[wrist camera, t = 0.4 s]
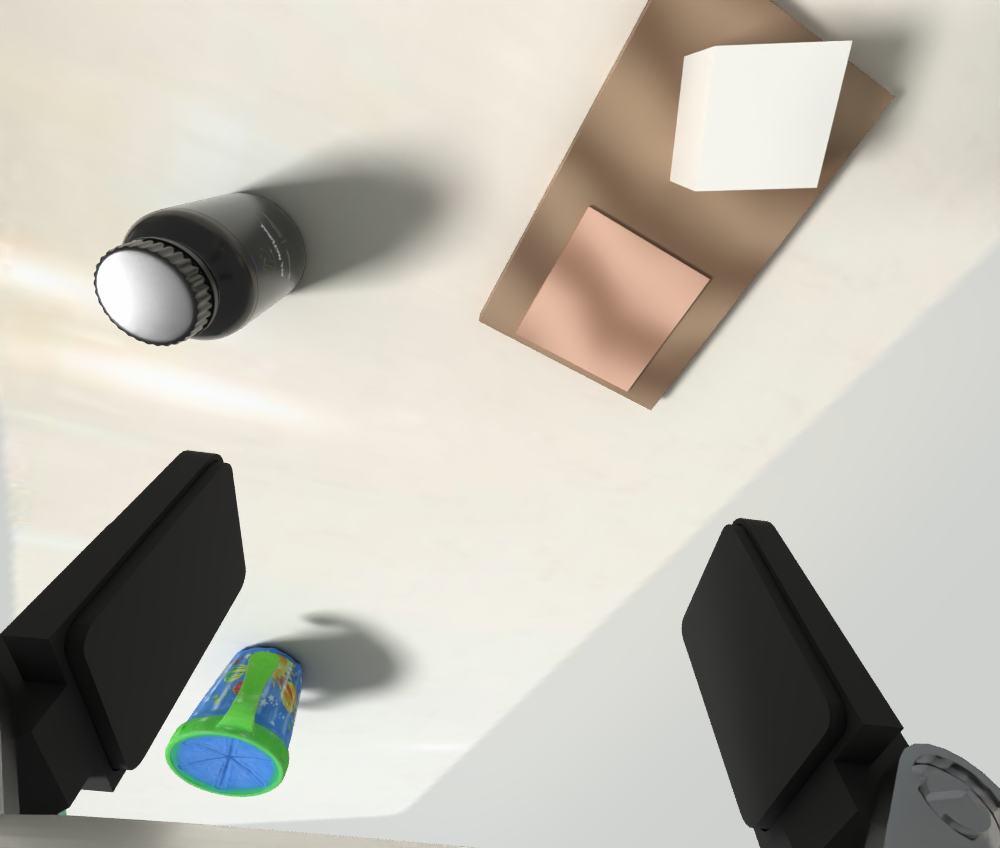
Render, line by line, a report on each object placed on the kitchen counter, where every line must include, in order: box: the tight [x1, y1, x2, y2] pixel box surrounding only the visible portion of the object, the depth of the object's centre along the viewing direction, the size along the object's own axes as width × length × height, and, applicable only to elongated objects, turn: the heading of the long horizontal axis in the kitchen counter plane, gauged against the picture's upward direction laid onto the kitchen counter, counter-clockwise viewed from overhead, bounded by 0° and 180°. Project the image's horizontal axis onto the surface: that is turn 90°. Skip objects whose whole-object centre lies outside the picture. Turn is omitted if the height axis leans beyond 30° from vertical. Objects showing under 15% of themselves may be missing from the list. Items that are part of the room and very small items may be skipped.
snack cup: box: [165, 647, 303, 797], centre depth 52 cm, size 16×10×10 cm
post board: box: [479, 0, 895, 410], centre depth 31 cm, size 22×14×5 cm, turn 152°
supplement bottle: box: [94, 193, 305, 346], centre depth 30 cm, size 7×7×12 cm
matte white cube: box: [670, 40, 853, 191], centre depth 27 cm, size 6×6×5 cm
